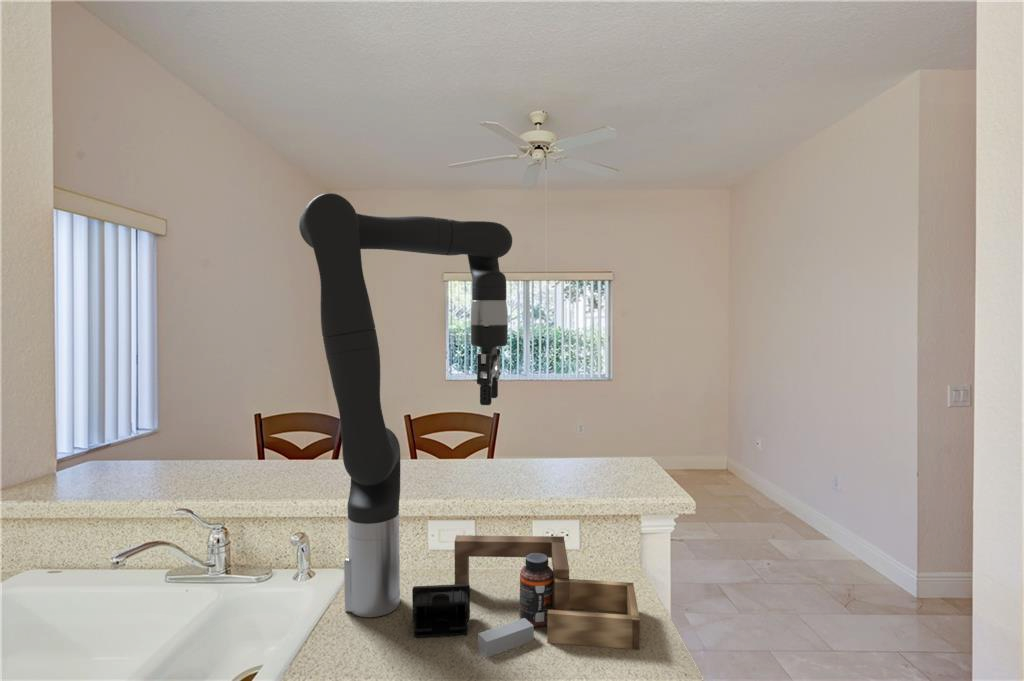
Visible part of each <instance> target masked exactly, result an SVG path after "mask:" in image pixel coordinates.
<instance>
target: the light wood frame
mask: <svg viewBox="0 0 1024 681" xmlns="http://www.w3.org/2000/svg"><path fill="white" fill-rule="evenodd" d="M569 580H570V609H573V611H572V610H570V611H562V610H548V613H547V625H546V626H547V627H546V629H547V632H546V633H547V634H546V635H547V636H546V637H547V638H546V640H547V641H546V642H547V643H548V644H549V643H550V644H562V645H575V646H589V647H601V648H615V649H626V650H627V649H628V650H629V649H630V650H640V643H641V642H640V640H641V639H640V638H641V637H640V635H641V633H640V632H641V630H640V629H641V627H640V626H641V617H640V613H639V607H638V601H637V597H636V590H635V584H634V582H626V581H625V582H624V581H608V580H594V579H592V580H591V579H578V578H577V579H575V578H569ZM576 610H577V611H576ZM578 610H588V611H589V610H590V611H591V610H592V611H601V612H590V611H589V612H588V611H578ZM602 611H603V613H602ZM604 611H605V612H607V611H608V612H619V613H620V612H621V613H626V614H619V613H618V614H617V613H604Z"/></svg>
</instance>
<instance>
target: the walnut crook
mask: <svg viewBox="0 0 1024 681" xmlns="http://www.w3.org/2000/svg"><path fill="white" fill-rule="evenodd" d="M531 553H541V554H545V555H546V556H547V557H548V559H549V558H551V564H552V565H551V566H552V571H553V610H562V611H571V610H570V609H571V608H570V580H569V579H570V566H569V561H568V555H567V553H568V552H567V548H566V541H565V536H558V535H557V536H551V535H550V536H544V535H543V536H539V535H536V536H535V535H529V536H528V535H469V534H468V535H462V534H456V536H455V539H454V584H469V585H470V557H472V558H474V557H477V558H479V557H480V558H481V557H483V558H485V557H486V558H526V556H527V555H529V554H531Z"/></svg>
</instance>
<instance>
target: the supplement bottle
mask: <svg viewBox="0 0 1024 681" xmlns="http://www.w3.org/2000/svg"><path fill="white" fill-rule="evenodd" d="M548 610H553V568H551V567H550V566H549V558H548V557H547V556H546V555H545V554H541V553H531V554H529V555H527V556H526V557H525V565H524V566H523V567H522V568H521V569H520V572H519V618H520V619H523V618H525V619H527V620H528V621H529V622H530V623H531V624H532V625H534V627H536V628H537V627H540V628H541V627H544V626H547V613H548Z"/></svg>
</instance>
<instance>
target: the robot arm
mask: <svg viewBox="0 0 1024 681" xmlns="http://www.w3.org/2000/svg"><path fill="white" fill-rule="evenodd" d="M298 224H299V225H298V226H299V227H298V228H299V232H300V235H301V238H302V239H303V241H304V242H305V243H306V244H307V245H308V246H309V247H311V249H312V248H313V252H314V256H315V259H316V260H315V261H316V264H317V267H318V272H319V273H318V274H319V280H320V281H319V282H320V327H321V328H320V329H321V333H322V336H321V337H322V340H323V341H322V342H323V346H324V351H325V352H324V353H325V357H326V361H327V365H328V370H329V375H330V379H331V384H332V388H333V391H334V397H335V400H336V403H337V408H338V413H339V415H338V416H339V423H340V433H341V434H340V436H341V448H342V449H341V450H342V462H343V465H344V469H345V471H346V473H347V474H348V475H349V477H350V489H349V495H348V500H347V534H348V535H347V537H348V539H347V544H348V545H347V546H348V547H347V550H348V552H347V556H346V558H345V559H344V561H343V570H344V571H343V574H344V575H343V579H344V582H343V583H344V587H343V588H344V611H345V612H350V613H352V614H353V615H355V616H358V617H362V618H376V617H381V616H385V615H388V614H390V613H391V612H394V611H395V610H396V609H397V608H398V607H399V606H400V603H401V598H400V596H401V585H400V583H401V582H400V581H401V575H400V574H401V573H400V572H401V571H400V569H401V568H400V567H401V566H400V565H401V564H400V561H401V560H400V556H401V555H400V497H401V445H400V441H399V439H398V437H397V436H396V434H395V432H393V431H392V430H391V429H390V428H388V427H387V426H386V423H385V420H384V415H383V410H382V403H381V355H380V346H379V339H378V335H377V329H376V324H375V320H374V316H373V310H372V306H371V300H370V297H369V292H368V289H367V284H366V281H365V276H364V272H363V265H362V264H363V263H362V252H361V250H386V251H388V250H390V251H400V252H407V253H409V252H410V253H417V254H419V253H420V254H428V255H437V256H438V255H440V256H459V255H466V256H467V259H468V265H469V266H468V267H469V270H470V274H471V279H472V282H471V285H472V286H471V295H472V296H471V300H472V301H471V308H470V344H471V346H473V347H480V348H481V350H480V353H477V355H476V360H477V363H476V366H477V368H476V369H477V371H476V384H477V385H478V386H479V404H480V405H481V406H491V404H492V403H493V402H492V399H497V397H498V396H499V379H500V376H501V375H502V374H501V350H500V347H505V346H507V345H508V331H509V330H508V328H509V327H508V325H509V324H508V320H509V319H508V314H509V313H508V306H507V278H506V275H505V273H503V272H501V271H500V264H499V258H501V257H502V258H503V256H505V255H506V254H508V253H509V251H510V250H511V248H512V245H513V236H512V233H511V231H510V230H509V229H508V227H507V226H505V225H503V224H502V223H500V222H496V221H495V222H494V221H485V220H484V221H479V220H476V221H475V220H473V221H471V220H467V221H464V220H461V221H460V220H455V219H450V218H441V217H440V218H439V217H434V216H422V215H420V216H419V215H418V216H417V215H415V216H414V215H411V216H377V215H376V216H375V215H374V216H373V215H367V214H360V213H356V209H355V208H354V206H353V205H352V204H351V203H350V201H349V200H347V199H346V198H345V197H344V196H341V195H340V194H337V193H330V192H327V193H322V194H320V195H317V196H316V197H314V198H312V200H310V201H309V203H308V204H307V205H306V206H305V208H304V210H303V212H302V213H301V216H300V219H299V223H298Z"/></svg>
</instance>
